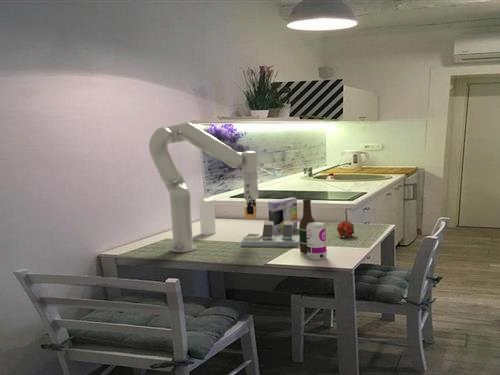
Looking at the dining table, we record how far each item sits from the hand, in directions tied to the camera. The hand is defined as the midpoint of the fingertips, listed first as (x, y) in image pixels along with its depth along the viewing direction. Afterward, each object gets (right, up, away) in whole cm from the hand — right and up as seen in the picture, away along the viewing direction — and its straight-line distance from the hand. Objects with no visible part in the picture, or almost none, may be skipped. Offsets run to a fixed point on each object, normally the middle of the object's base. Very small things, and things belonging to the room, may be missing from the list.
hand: (251, 212), depth 231 cm
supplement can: (+28, -18, -30) cm, 45 cm away
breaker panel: (+10, -15, 0) cm, 18 cm away
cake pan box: (+18, -12, +29) cm, 36 cm away
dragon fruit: (+48, -13, +8) cm, 50 cm away
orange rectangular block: (-1, -3, 0) cm, 3 cm away
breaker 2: (+17, -12, -4) cm, 21 cm away
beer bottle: (+26, -17, -19) cm, 36 cm away
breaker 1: (+7, -12, -1) cm, 14 cm away
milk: (-24, -13, +31) cm, 42 cm away
